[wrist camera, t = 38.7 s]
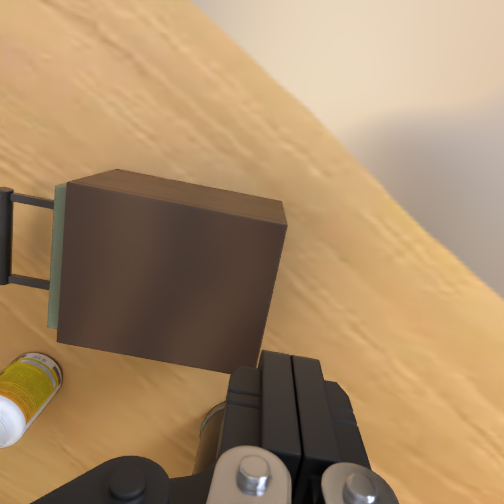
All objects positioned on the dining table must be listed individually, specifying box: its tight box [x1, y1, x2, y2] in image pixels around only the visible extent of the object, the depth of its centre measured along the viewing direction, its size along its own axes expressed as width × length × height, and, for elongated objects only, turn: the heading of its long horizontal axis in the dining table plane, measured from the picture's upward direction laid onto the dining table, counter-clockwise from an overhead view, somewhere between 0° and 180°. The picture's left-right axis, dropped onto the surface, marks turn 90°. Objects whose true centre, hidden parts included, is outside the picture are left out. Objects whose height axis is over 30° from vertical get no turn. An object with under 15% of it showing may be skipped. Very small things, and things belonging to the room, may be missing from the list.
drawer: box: [0, 183, 67, 329], centre depth 35 cm, size 21×11×8 cm, turn 79°
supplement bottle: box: [0, 353, 62, 448], centre depth 40 cm, size 6×6×10 cm
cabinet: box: [57, 169, 287, 374], centre depth 35 cm, size 16×13×10 cm
